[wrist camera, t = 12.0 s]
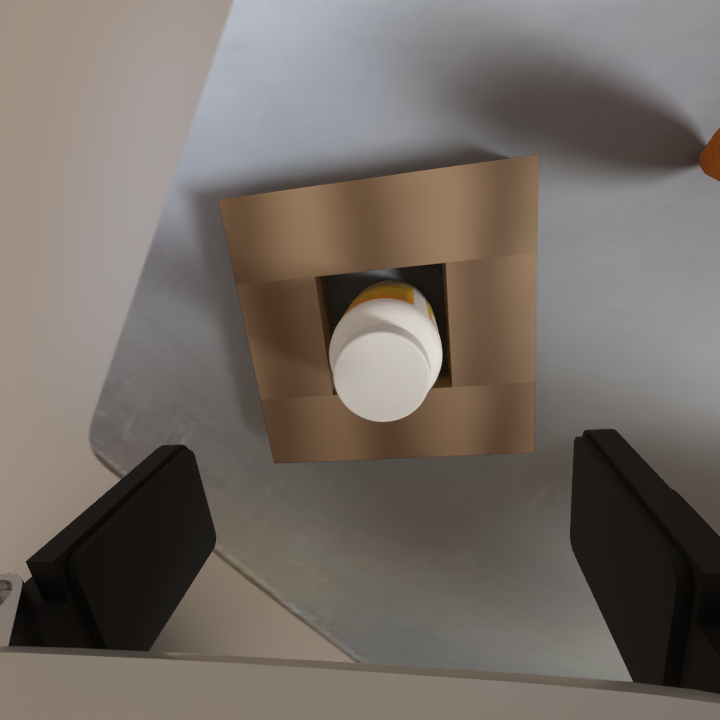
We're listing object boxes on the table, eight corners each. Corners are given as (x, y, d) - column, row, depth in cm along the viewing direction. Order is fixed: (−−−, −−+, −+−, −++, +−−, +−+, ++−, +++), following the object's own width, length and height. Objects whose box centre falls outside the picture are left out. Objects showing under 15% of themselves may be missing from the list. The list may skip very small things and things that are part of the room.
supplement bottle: (331, 326, 26) (289, 384, 17) (385, 260, 25) (371, 285, 15) (395, 379, 27) (388, 461, 18) (452, 317, 25) (477, 374, 16)
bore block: (521, 162, 22) (538, 154, 19) (521, 428, 27) (534, 452, 24) (240, 201, 24) (218, 199, 22) (287, 439, 29) (274, 463, 27)
